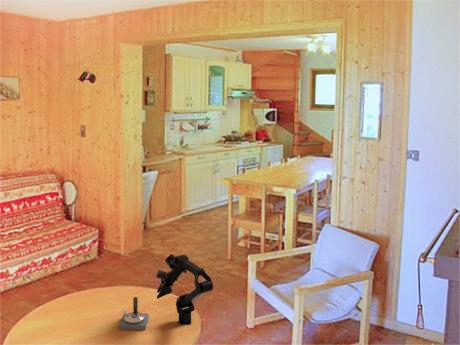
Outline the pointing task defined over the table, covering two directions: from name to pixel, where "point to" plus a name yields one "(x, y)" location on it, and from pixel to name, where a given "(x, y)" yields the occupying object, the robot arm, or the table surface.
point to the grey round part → (134, 314)
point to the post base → (129, 326)
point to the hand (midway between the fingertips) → (157, 295)
